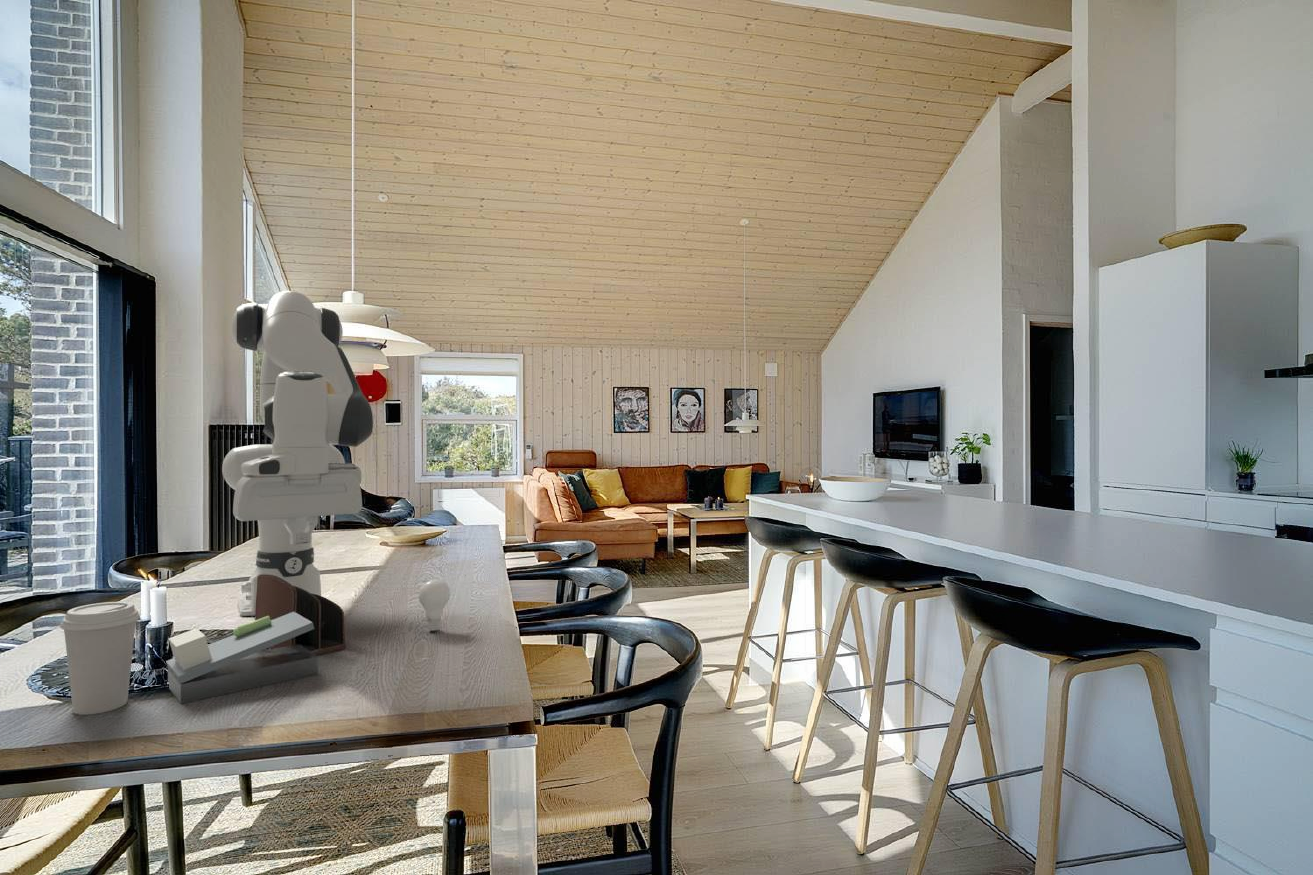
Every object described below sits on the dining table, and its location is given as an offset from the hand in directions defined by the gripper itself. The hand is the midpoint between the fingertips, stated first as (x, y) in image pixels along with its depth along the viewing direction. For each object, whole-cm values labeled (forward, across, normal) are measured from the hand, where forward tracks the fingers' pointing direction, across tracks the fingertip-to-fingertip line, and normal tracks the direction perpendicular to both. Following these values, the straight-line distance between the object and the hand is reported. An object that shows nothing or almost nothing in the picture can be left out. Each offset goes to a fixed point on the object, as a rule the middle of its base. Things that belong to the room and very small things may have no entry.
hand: (300, 543), depth 123 cm
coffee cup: (+23, +27, -4) cm, 36 cm away
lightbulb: (+23, -29, -8) cm, 38 cm away
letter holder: (+23, -5, -18) cm, 30 cm away
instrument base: (+22, +8, -2) cm, 24 cm away
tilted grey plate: (+17, +8, -2) cm, 19 cm away
